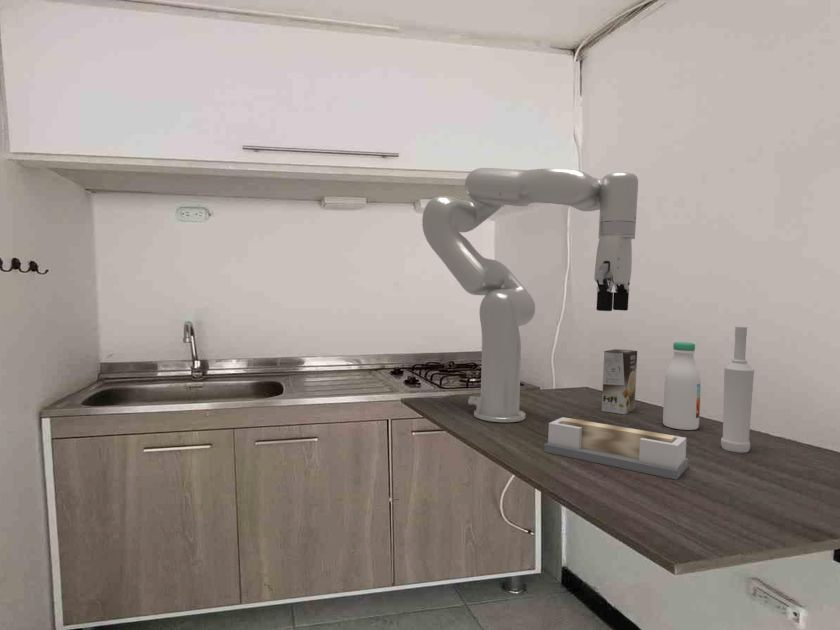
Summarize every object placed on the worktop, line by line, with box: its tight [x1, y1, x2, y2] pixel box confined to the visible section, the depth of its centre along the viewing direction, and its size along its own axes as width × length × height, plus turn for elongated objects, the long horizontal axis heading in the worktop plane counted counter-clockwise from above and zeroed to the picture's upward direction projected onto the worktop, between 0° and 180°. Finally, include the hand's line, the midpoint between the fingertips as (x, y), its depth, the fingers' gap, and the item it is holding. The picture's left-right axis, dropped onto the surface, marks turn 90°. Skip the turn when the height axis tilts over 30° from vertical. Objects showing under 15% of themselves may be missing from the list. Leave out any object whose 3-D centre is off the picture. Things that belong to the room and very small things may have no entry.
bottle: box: [720, 326, 755, 454], centre depth 111 cm, size 5×5×25 cm
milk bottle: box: [662, 341, 701, 431], centre depth 129 cm, size 8×8×20 cm
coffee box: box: [601, 348, 638, 415], centre depth 146 cm, size 9×6×16 cm
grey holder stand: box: [543, 416, 690, 481], centre depth 103 cm, size 24×9×6 cm, turn 53°
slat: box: [562, 417, 676, 458], centre depth 102 cm, size 20×3×4 cm, turn 53°
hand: (612, 310), depth 119 cm, fingers open, 9 cm apart
